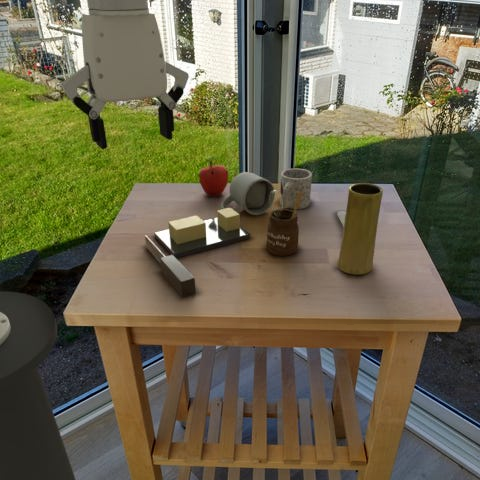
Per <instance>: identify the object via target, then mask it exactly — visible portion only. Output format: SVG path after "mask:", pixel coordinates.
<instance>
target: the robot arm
mask: <svg viewBox="0 0 480 480" xmlns="http://www.w3.org/2000/svg"><path fill="white" fill-rule="evenodd" d="M86 2H87V9H88V12H83V13H81V14H82V15H81V41H82V56H83V66H82V67H81V68H80V69H78V70H77V71H76V72H74V73H73V74H71V75H69V76H68V78H66V79H65V80H63V81H62V82H61V84H60V86H61V88H62V90H63V91H64V93H65V94H66V96H67V97H68V99H69V100H70V101H71V103H72V104H73V105H74V106H75V107H76V108H78V109H79V110H80V111H81V112H83V113H84V114H85V115H86V116H87V118H88V124H89V130H90V134H91V135H90V136H91V140H92V142H93V143H96V146H98V147H99V148H100V149H101V150H106V149H108V142H107V136H106V128H105V122H104V118H102V117H101V112H102V111H103V110H104V108H105V106H106V104H107V103H118V102H126V101H128V102H129V101H135V100H146V99H152V98H155V99H156V100H157V101H158V102H159V104H160V105H159V106H158V107H157V113H158V123H159V124H158V126H159V135H161V137H163V138H165V139H166V140H169V141H170V140H173V132H174V131H175V120H174V110H175V109H176V107H177V103H178V102H179V101H180V99H181V98H182V97H183V95H184V91H185V88H186V86H187V84H188V80H189V78H190V75H189V73H188V72H187V71H184V70H182V69H181V68H179V67H177V66H175V65H173V64H171V63H169V62H167V61H166V58H165V57H166V56H165V51H164V46H163V45H164V44H163V40H162V36H161V35H162V34H161V31H160V26H159V23H158V19H157V16H156V12H154V11H151V8H152V3H153V2H155V0H86ZM168 75H169V76H171V77H173V78H174V81H173V86H172V87H171V88H170V89H169V91H167V89H168ZM84 83H86V87H87V91H88V94H90V97H89V98H88V100H87V102H86V100H84V99H83V98H82V97H81V95H80V94H79V92H78V88H79V87H80V86H82V85H83V84H84ZM10 329H11V326H10V322H9V320H8V318H7V317H6V315H5V314H3V313H1V312H0V345H1V344H2V343H3V342H4V341H5V340H6V338H7V337H8V335H9V333H10Z"/></svg>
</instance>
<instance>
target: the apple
mask: <svg viewBox="0 0 480 480" xmlns="http://www.w3.org/2000/svg"><path fill="white" fill-rule="evenodd" d="M214 160H215V154H212V155H211V156H210V157H206V158H205V159H204V161H206V162H209V165H208V166H205V167H202V168H201V169H200V170H199V173H198V180H199V183H200V186H201V188H202V190H203V191H204V193H205V195H207V196H208V197H221V195H222V194H223V192H224V191H225V189H226V187H227V186H228V182H229V171H228V170H227V168H226V167H225V166H224V165H223V164H213V161H214Z"/></svg>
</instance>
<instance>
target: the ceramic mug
mask: <svg viewBox="0 0 480 480" xmlns="http://www.w3.org/2000/svg"><path fill="white" fill-rule="evenodd" d="M274 190H275V187H274V185H273V183H272V182H271V181H270V180H268V179H267V178H264V177H262V176H259V175H257V174H255V173H253V172H248V171H243V172H239V173H238V174H236V175H235V176H234V177H233V179H232V180H231V182H230V184H229V195H228V196H227V197H226V198H224V200H222V201H221V204H220V208H221V210H222V209H226V208H228V206H229V205H230V204H231V203H232V202H234V203H236V206H234V207H230V208H231V209H233V210H234V211H236V212H237V213H238V214H240V213H242V212H243V211H245V212H246V213H248V214H250V215H252V216H260V215H263V214H265V213H266V212H267V211H269V210H270V208H272V207H273V205H274V202H275V197H274V195H275V196H276V192H275V191H274ZM271 192H272V193H271ZM270 194H271V198H270ZM272 195H273V196H272ZM272 199H273V201H272ZM271 203H272V205H271V206H270V204H271Z"/></svg>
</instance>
